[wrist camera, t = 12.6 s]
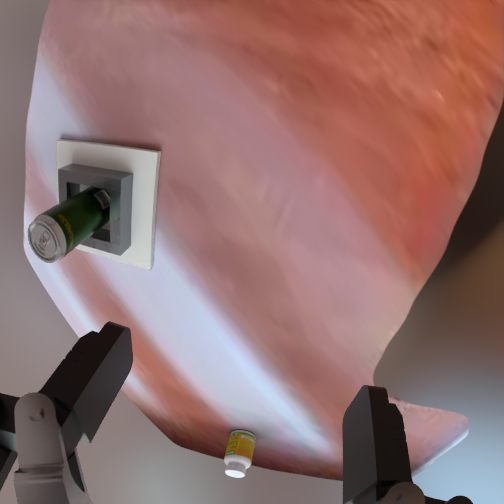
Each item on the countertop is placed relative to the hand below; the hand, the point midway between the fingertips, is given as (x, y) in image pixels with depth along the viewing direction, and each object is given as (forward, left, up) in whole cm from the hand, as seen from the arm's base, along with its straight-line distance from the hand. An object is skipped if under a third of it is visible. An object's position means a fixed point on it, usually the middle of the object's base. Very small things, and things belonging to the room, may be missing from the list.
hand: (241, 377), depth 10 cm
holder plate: (+8, -23, -28) cm, 37 cm away
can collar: (+8, -23, -28) cm, 37 cm away
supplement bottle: (+53, +4, -28) cm, 60 cm away
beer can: (+8, -23, -27) cm, 36 cm away
